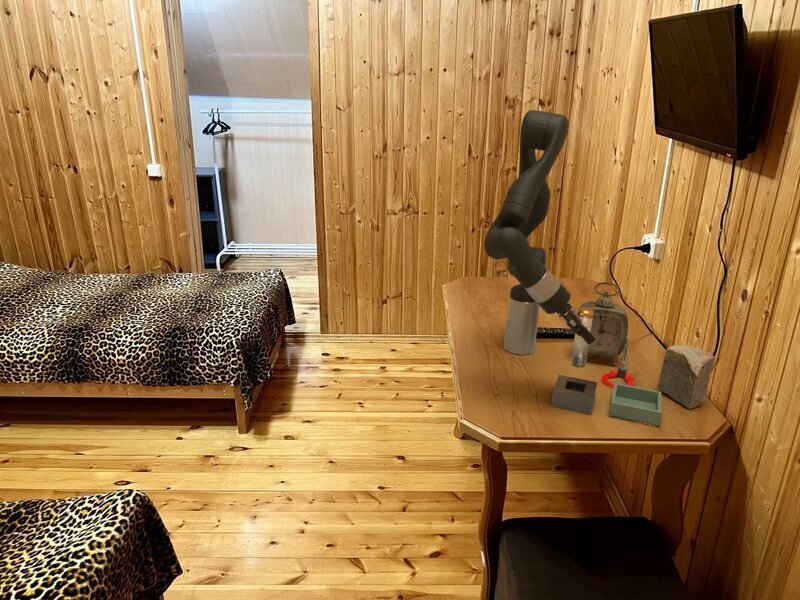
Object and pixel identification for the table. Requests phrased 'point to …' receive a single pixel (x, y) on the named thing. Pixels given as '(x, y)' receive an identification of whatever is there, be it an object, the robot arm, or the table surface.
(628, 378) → the tow hook
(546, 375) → the table surface
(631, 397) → the tray
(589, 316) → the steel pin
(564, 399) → the block
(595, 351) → the tabletop clock
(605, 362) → the table surface
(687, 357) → the geological specimen
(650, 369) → the table surface
